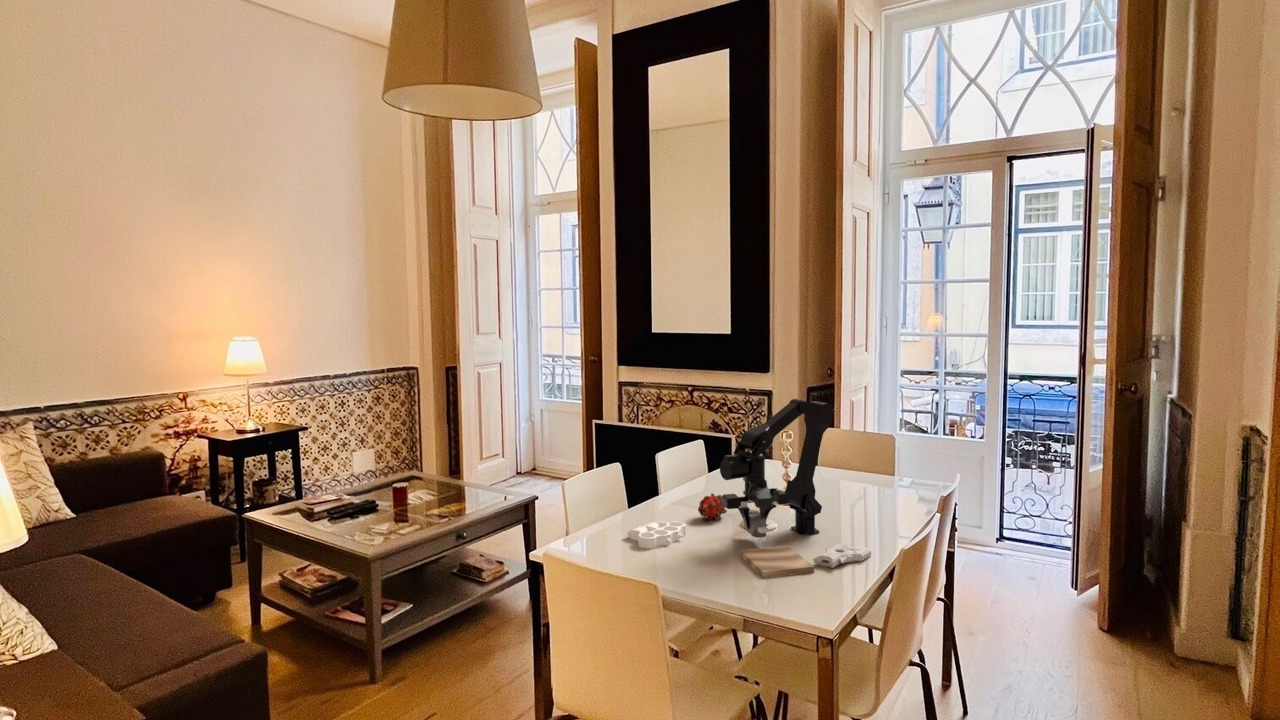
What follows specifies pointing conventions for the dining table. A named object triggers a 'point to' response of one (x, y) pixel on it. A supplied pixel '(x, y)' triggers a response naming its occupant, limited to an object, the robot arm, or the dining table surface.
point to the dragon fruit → (711, 507)
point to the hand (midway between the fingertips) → (755, 528)
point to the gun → (841, 555)
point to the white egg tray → (658, 533)
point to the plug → (757, 524)
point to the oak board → (776, 561)
